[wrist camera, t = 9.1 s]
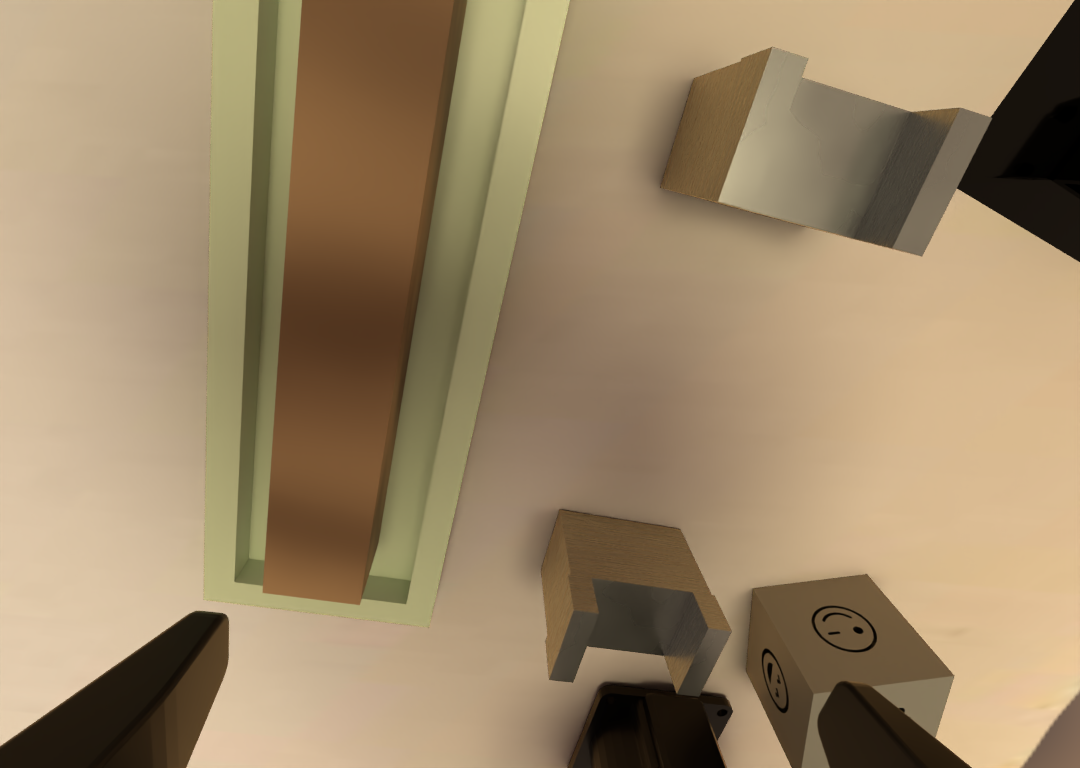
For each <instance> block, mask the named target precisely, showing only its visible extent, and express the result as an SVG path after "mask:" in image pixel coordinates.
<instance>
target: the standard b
mask: <svg viewBox="0 0 1080 768" xmlns="http://www.w3.org/2000/svg"><path fill="white" fill-rule="evenodd" d="M808 59H809V58H805V57H802V56H799V55H796V54H793V53H790V52H787V51H784V50H781V49H778V48H775V47H771V48H768V49H766V50H763V51H760V52H758V53H755V54H752V55H749V56H747V57H744V58H742V59H741V62H738V63H735V64H732V65H730V66H727V67H724V68H721V69H719V70H716V71H713V72H710V73H707V74H705V75H702V76H699V77H696V78H694V80H693V84H692V87H691V90H690V93H689V96H688V100H687V103H686V106H685V109H684V112H683V116H682V119H681V122H680V125H679V128H678V132H677V135H676V138H675V141H674V144H673V148H672V151H671V154H670V157H669V161H668V164H667V167H666V170H665V173H664V177H663V180H662V183H661V186H660V188H663V189H667V190H670V191H674V192H678V193H681V194H685V195H689V196H693V197H696V198H700V199H704V200H707V201H711V202H715V203H719V204H722V205H726V206H730V207H734V208H737V209H741V210H745V211H748V212H752V213H756V214H760V215H763V216H767V217H771V218H775V219H778V220H782V221H786V222H789V223H793V224H797V225H801V226H804V227H808V228H812V229H816V230H820V231H824V232H828V233H832V234H836V235H840V236H844V237H848V238H851V239H855V240H859V241H863V242H867V243H871V244H875V245H879V246H883V247H887V248H891V249H895V250H899V251H902V252H906V253H910V254H914V255H918V256H923V254H924V252H925V250H926V248H927V246H928V244H929V242H930V240H931V238H932V236H933V234H934V232H935V230H936V228H937V226H938V224H939V222H940V220H941V218H942V216H943V214H944V212H945V210H946V208H947V206H948V204H949V202H950V200H951V198H952V196H953V194H954V193H955V191H956V189H957V187H958V185H959V183H960V181H961V179H962V177H963V175H964V173H965V171H966V169H967V167H968V165H969V163H970V161H971V159H972V157H973V155H974V153H975V151H976V149H977V147H978V145H979V143H980V141H981V139H982V137H983V135H984V133H985V131H986V129H987V127H988V125H989V124H990V122H991V120H992V118H991V117H988V116H985V115H982V114H978V113H975V112H972V111H969V110H966V109H963V108H952V109H940V110H929V111H918V112H909V111H906V110H903V109H900V108H897V107H893V106H890V105H887V104H884V103H881V102H878V101H875V100H871V99H868V98H865V97H862V96H859V95H856V94H852V93H849V92H846V91H843V90H840V89H837V88H833V87H830V86H827V85H824V84H821V83H818V82H815V81H811V80H808V79H805V78H802V75H803V72H804V69H805V67H806V64H807V61H808Z"/></svg>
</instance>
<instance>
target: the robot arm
mask: <svg viewBox="0 0 1080 768" xmlns="http://www.w3.org/2000/svg"><path fill="white" fill-rule="evenodd" d="M228 658H229V620H228V617H227V615H226V614H223V613H216V612H206V611H195V612H192V613H190V614H188V615H187V616H185V617H184V618H182V619H181V620H180V621H178V622H177V623H175V624H174V625H172V626H171V627H170V628H168V629H167V630H165V631H164V632H162V633H161V634H160V635H158V636H157V637H155V638H154V639H153V640H151V641H150V642H148V643H147V644H145V645H144V646H143V647H141V648H140V649H138V650H137V651H135V652H134V653H133V654H131V655H130V656H128V657H127V658H125V659H124V660H123V661H121V662H120V663H118V664H117V665H115V666H114V667H113V668H111V669H110V670H108V671H107V672H105V673H104V674H103V675H101V676H100V677H98V678H97V679H95V680H94V681H93V682H91V683H90V684H88V685H87V686H85V687H84V688H83V689H81V690H80V691H78V692H77V693H75V694H74V695H73V696H71V697H70V698H68V699H67V700H65V701H64V702H63V703H61V704H60V705H58V706H57V707H56V708H54V709H53V710H51V711H50V712H48V713H47V714H46V715H44V716H43V717H41V718H40V719H38V720H37V721H36V722H34V723H33V724H31V725H30V726H28V727H27V728H26V729H24V730H23V731H21V732H20V733H18V734H17V735H16V736H14V737H13V738H11V739H10V740H8V741H7V742H6V743H4V744H3V745H1V746H0V768H186V767H187V764H188V762H189V760H190V757H191V755H192V752H193V750H194V748H195V745H196V743H197V740H198V738H199V736H200V733H201V731H202V728H203V726H204V724H205V721H206V719H207V716H208V714H209V712H210V709H211V707H212V705H213V702H214V700H215V697H216V695H217V693H218V690H219V688H220V685H221V683H222V681H223V678H224V675H225V672H226V669H227V665H228ZM732 712H733V710H732V708H731V705H730V703H729V700H727V699H726V698H721V697H713V696H704V695H699V697H698V696H689V695H680V694H676V692H668V691H659V690H650V689H641V688H632V687H623V686H615V685H607V686H604V687H602V688H601V689H600V690H599V692H598V694H597V697H596V699H595V701H594V704H593V706H592V709H591V711H590V714H589V716H588V719H587V721H586V724H585V726H584V729H583V731H582V733H581V736H580V738H579V741H578V743H577V746H576V748H575V751H574V753H573V756H572V758H571V761H570V763H569V766H568V768H727V767H726V764H725V761H724V759H723V756H722V753H721V751H720V748H719V745H718V742H717V740H718V738H719V737H720V735H721V733H722V731H723V729H724V728H725V726H726V724H727V722H728V720H729V718H730V717H731V715H732ZM817 728H818V733H819V737H820V740H821V743H822V746H823V749H824V752H825V755H826V758H827V761H828V764H829V767H830V768H971V767H970V766H969V765H968V764H967V763H965V762H964V761H963V760H962V759H960V758H959V757H958V756H957V755H955V754H954V753H953V752H952V751H951V750H949V749H948V748H947V747H946V746H944V745H943V744H942V743H941V742H939V741H938V740H937V739H936V738H934V737H933V736H932V735H931V734H930V733H928V732H927V731H926V730H925V729H923V728H922V727H921V726H920V725H918V724H917V723H916V722H915V721H914V720H912V719H911V718H910V717H909V716H907V715H906V714H905V713H904V712H902V711H901V710H900V709H899V708H898V707H896V706H895V705H894V704H893V703H891V702H890V701H889V700H888V699H886V698H885V697H884V696H883V695H882V694H880V693H879V692H878V691H877V690H875V689H874V688H873V687H872V686H870V685H868V684H866V683H863V682H855V681H846V680H843V681H840V682H838V683H837V684H836V685H835V686H834V688H833V690H832V692H831V693H830V695H829V697H828V699H827V700H826V702H825V704H824V706H823V707H822V709H821V711H820V713H819V715H818V719H817Z"/></svg>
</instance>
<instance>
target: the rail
mask: <svg viewBox="0 0 1080 768" xmlns="http://www.w3.org/2000/svg"><path fill="white" fill-rule="evenodd" d="M466 6H467V0H302V7H301V22H300V37H299V52H298V67H297V82H296V97H295V112H294V127H293V142H292V157H291V172H290V187H289V202H288V217H287V232H286V247H285V262H284V277H283V292H282V307H281V322H280V337H279V352H278V367H277V382H276V397H275V412H274V427H273V442H272V457H271V472H270V487H269V502H268V517H267V532H266V547H265V562H264V577H263V592H262V593H267V594H275V595H283V596H291V597H299V598H307V599H315V600H322V601H330V602H338V603H346V604H354V605H360V603H361V599H362V596H363V593H364V589H365V586H366V583H367V580H368V576H369V573H370V570H371V566H372V563H373V560H374V557H375V553H376V550H377V547H378V543H379V537H380V531H381V525H382V519H383V513H384V507H385V500H386V494H387V488H388V482H389V476H390V470H391V464H392V458H393V452H394V445H395V439H396V433H397V427H398V421H399V415H400V409H401V403H402V397H403V390H404V384H405V378H406V372H407V366H408V360H409V354H410V348H411V342H412V336H413V329H414V323H415V317H416V311H417V305H418V299H419V293H420V287H421V281H422V274H423V268H424V262H425V256H426V250H427V244H428V238H429V232H430V226H431V219H432V213H433V207H434V201H435V195H436V189H437V183H438V177H439V171H440V165H441V158H442V152H443V146H444V140H445V134H446V128H447V122H448V116H449V110H450V103H451V97H452V91H453V85H454V79H455V73H456V67H457V61H458V55H459V48H460V42H461V36H462V30H463V24H464V18H465V12H466Z"/></svg>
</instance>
